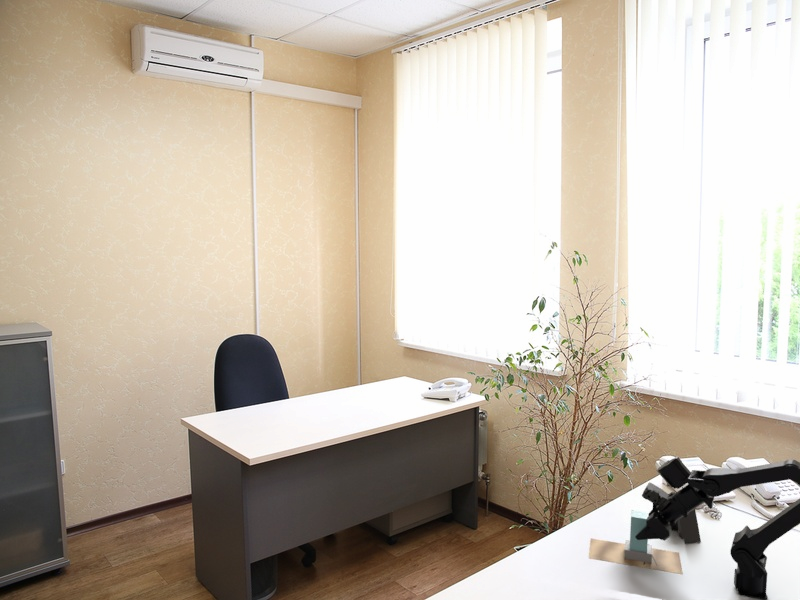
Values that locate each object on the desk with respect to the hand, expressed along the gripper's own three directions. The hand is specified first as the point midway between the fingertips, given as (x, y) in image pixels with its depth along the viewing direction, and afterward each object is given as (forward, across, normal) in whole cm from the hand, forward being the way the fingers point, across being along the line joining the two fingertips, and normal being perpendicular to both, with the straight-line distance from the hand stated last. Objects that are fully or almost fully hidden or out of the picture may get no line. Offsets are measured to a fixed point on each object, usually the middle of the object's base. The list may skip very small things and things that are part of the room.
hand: (639, 531), depth 172 cm
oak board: (+7, 0, +5) cm, 9 cm away
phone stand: (0, -22, +13) cm, 26 cm away
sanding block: (+5, 0, +5) cm, 7 cm away
